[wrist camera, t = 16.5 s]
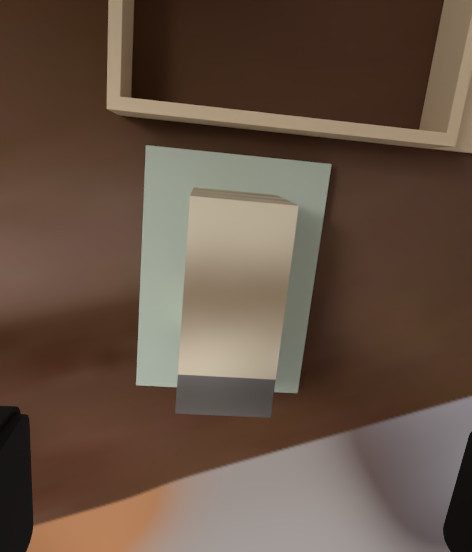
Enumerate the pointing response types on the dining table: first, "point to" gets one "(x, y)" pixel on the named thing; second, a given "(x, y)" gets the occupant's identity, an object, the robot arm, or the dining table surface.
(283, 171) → the mat
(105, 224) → the dining table surface
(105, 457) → the dining table surface
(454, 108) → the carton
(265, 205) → the block
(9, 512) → the robot arm
